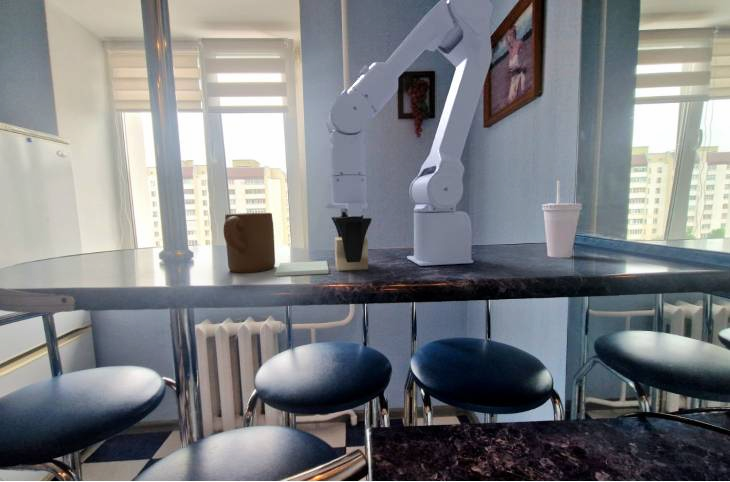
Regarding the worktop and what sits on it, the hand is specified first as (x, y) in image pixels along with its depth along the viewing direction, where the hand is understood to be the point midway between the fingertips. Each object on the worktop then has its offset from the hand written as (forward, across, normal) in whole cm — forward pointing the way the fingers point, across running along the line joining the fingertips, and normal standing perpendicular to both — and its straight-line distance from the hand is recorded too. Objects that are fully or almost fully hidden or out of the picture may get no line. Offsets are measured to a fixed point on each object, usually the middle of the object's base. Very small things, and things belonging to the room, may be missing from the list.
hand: (350, 258), depth 55 cm
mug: (+2, 0, -17) cm, 17 cm away
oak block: (+2, 0, 0) cm, 2 cm away
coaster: (+1, 0, -8) cm, 8 cm away
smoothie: (+2, 0, +39) cm, 39 cm away
